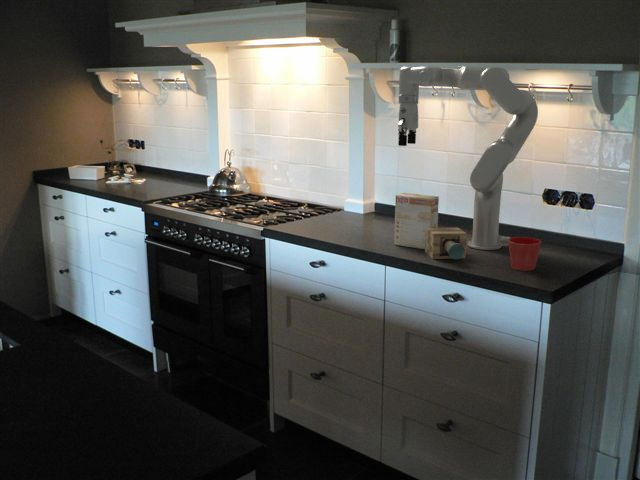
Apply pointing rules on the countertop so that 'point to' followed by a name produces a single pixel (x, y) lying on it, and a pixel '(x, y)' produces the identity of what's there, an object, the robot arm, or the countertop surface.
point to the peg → (453, 249)
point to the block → (436, 241)
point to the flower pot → (523, 252)
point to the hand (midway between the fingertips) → (407, 144)
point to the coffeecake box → (414, 218)
